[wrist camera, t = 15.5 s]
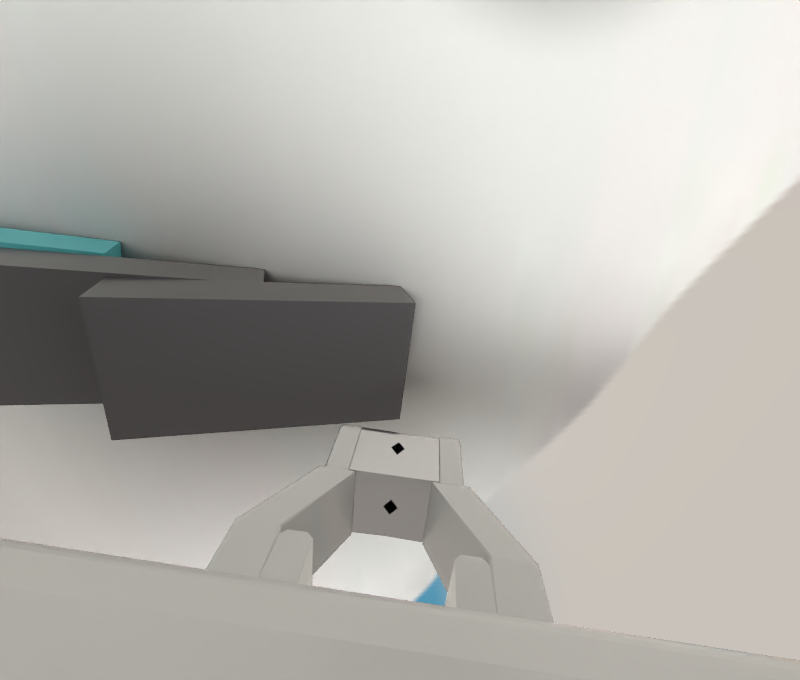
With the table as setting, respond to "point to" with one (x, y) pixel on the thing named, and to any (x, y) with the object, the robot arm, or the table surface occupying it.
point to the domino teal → (58, 243)
